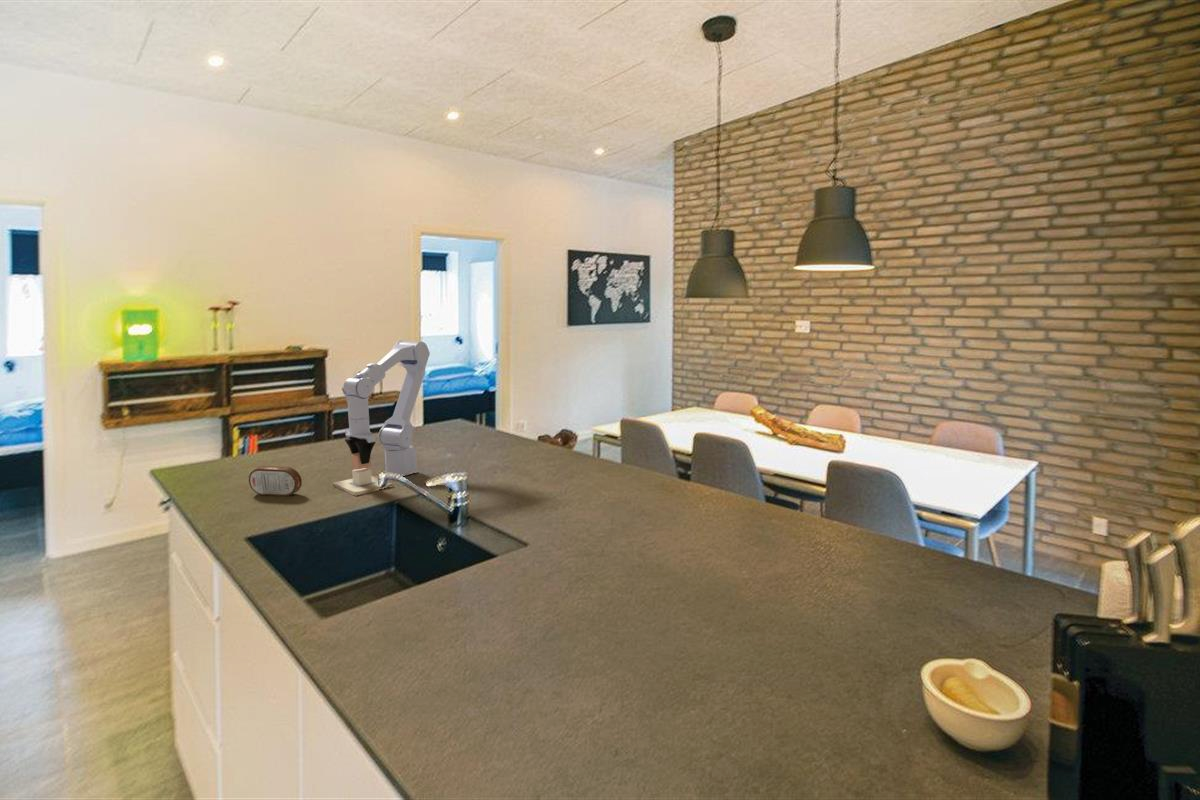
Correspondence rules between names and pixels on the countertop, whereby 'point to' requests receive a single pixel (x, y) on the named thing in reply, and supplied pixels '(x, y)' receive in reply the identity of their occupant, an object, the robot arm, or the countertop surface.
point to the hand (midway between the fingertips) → (361, 462)
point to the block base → (362, 476)
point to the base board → (358, 490)
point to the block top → (359, 462)
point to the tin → (275, 480)
